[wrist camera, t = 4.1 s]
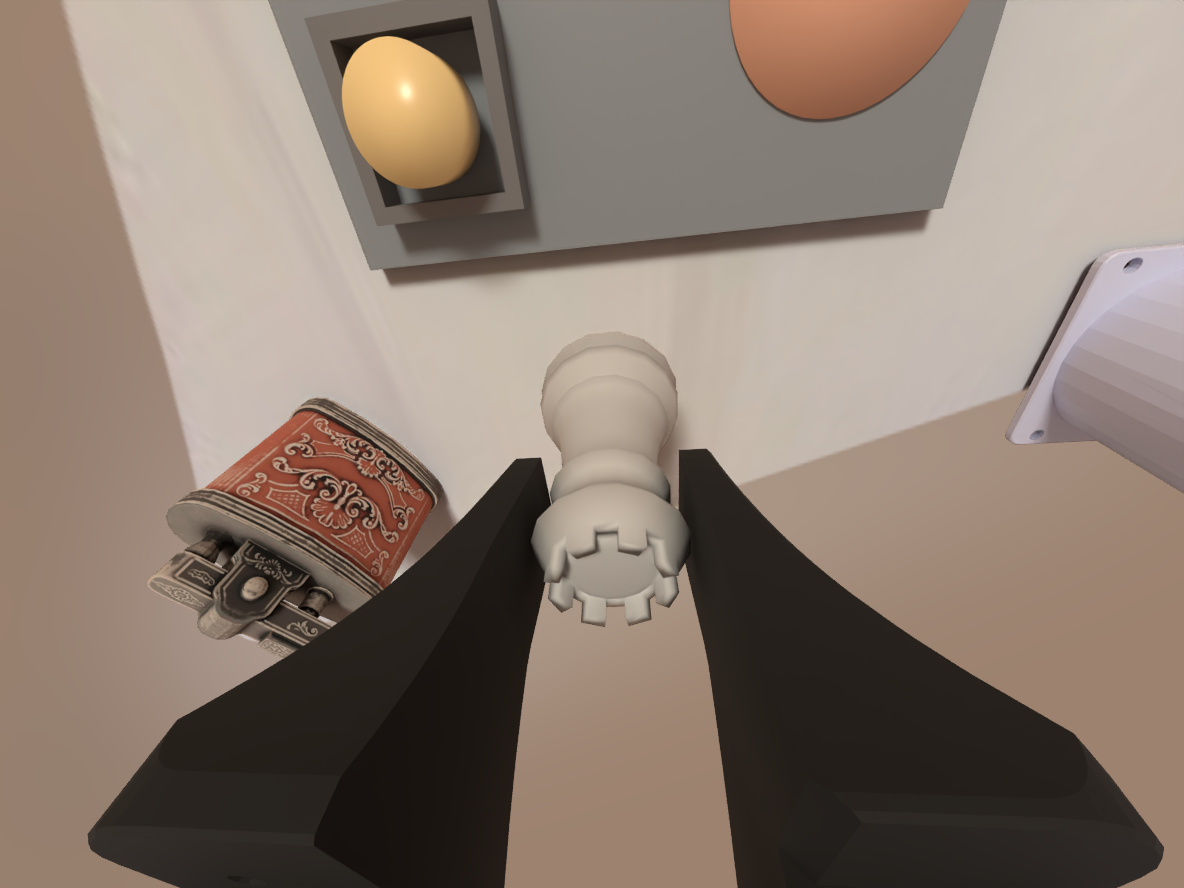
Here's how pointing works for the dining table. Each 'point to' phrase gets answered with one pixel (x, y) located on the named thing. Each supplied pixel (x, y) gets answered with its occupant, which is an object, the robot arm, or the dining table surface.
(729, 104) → the grey board
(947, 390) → the dining table surface
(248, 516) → the lighter
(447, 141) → the button
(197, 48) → the dining table surface
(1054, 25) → the dining table surface
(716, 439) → the dining table surface
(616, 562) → the rook chess piece
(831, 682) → the robot arm
